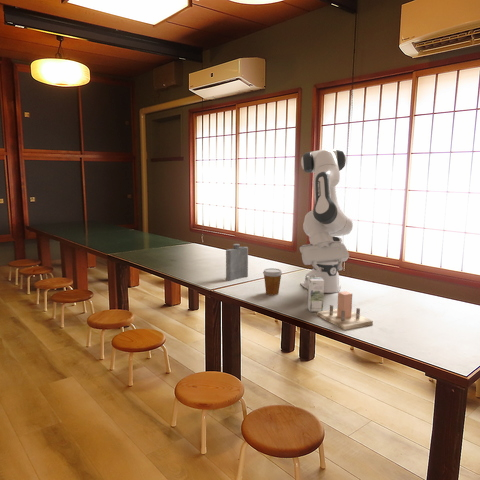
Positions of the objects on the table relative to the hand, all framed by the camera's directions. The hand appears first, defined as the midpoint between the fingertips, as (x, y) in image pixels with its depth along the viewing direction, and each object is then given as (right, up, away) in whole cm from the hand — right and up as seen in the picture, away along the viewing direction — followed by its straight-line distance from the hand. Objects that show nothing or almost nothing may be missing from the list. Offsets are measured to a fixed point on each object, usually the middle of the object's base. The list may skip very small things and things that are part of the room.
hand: (330, 270), depth 171 cm
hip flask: (-40, -9, +64) cm, 76 cm away
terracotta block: (+5, -19, -3) cm, 20 cm away
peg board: (+5, -20, -2) cm, 21 cm away
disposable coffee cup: (-22, -14, +34) cm, 43 cm away
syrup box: (-5, -18, +10) cm, 21 cm away
